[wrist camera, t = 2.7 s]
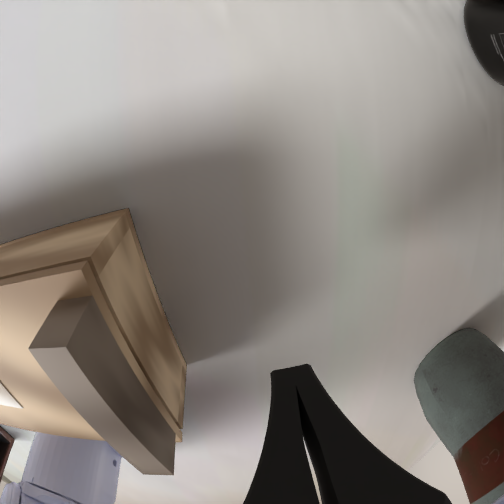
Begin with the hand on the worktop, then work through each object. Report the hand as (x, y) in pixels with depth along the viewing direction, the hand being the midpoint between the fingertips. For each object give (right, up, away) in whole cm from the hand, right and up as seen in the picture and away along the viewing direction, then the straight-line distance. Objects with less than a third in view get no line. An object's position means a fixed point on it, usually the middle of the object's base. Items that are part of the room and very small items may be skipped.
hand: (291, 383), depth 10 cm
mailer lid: (-15, -2, +1) cm, 15 cm away
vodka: (+17, -5, +13) cm, 22 cm away
